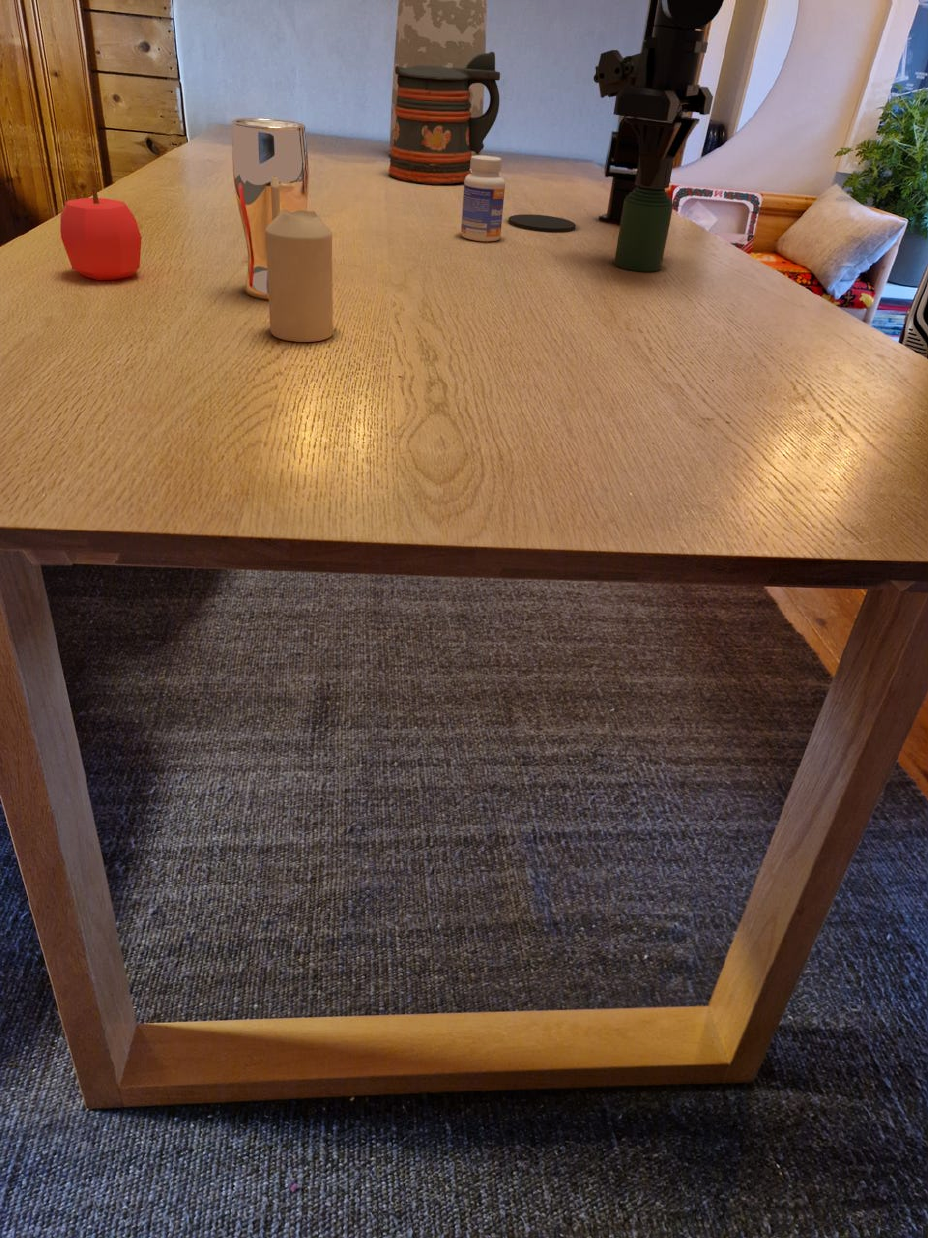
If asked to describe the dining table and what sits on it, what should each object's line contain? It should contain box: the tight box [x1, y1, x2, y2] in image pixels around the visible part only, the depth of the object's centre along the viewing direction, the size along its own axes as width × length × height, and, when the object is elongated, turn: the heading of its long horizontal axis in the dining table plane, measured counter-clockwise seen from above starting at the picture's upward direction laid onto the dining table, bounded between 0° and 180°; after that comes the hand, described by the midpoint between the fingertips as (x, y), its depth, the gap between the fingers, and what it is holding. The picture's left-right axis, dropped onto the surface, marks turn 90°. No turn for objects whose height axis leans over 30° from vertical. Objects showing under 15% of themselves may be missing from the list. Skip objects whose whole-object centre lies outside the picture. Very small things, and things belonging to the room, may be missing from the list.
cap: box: [635, 155, 675, 190], centre depth 104 cm, size 4×4×3 cm
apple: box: [59, 187, 142, 281], centre depth 86 cm, size 8×8×8 cm
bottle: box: [613, 186, 674, 273], centre depth 107 cm, size 6×6×12 cm
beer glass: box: [231, 117, 310, 301], centre depth 83 cm, size 7×7×15 cm
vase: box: [389, 0, 488, 162], centre depth 167 cm, size 20×19×38 cm
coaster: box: [507, 213, 577, 233], centre depth 128 cm, size 10×10×1 cm
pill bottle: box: [460, 154, 506, 242], centre depth 114 cm, size 5×5×10 cm
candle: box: [265, 209, 334, 343], centre depth 74 cm, size 6×6×10 cm
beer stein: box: [388, 51, 501, 186], centre depth 151 cm, size 19×15×20 cm
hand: (651, 183), depth 105 cm, fingers closed on cap, 4 cm apart
